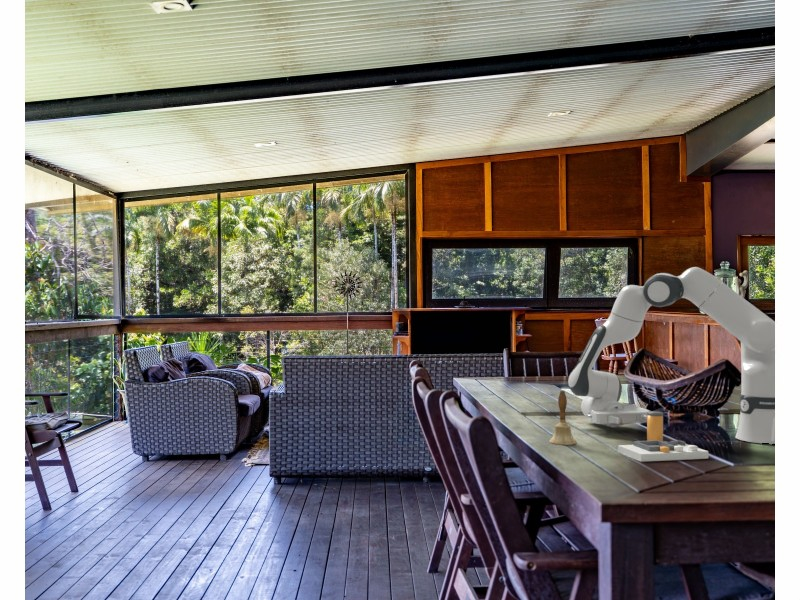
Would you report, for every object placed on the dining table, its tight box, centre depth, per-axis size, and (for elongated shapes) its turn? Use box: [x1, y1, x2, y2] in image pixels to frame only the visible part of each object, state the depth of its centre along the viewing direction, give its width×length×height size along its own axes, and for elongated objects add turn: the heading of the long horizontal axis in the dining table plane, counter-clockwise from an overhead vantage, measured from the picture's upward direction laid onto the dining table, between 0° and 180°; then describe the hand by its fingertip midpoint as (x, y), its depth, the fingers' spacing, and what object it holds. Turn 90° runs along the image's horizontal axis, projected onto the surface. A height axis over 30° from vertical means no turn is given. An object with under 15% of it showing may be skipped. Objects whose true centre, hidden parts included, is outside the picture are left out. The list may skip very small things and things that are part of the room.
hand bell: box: [548, 390, 578, 446], centre depth 215 cm, size 8×8×16 cm
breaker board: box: [617, 440, 709, 462], centre depth 198 cm, size 21×12×3 cm, turn 102°
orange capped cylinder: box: [646, 410, 664, 441], centre depth 212 cm, size 4×4×10 cm
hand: (633, 420), depth 224 cm, fingers open, 8 cm apart
